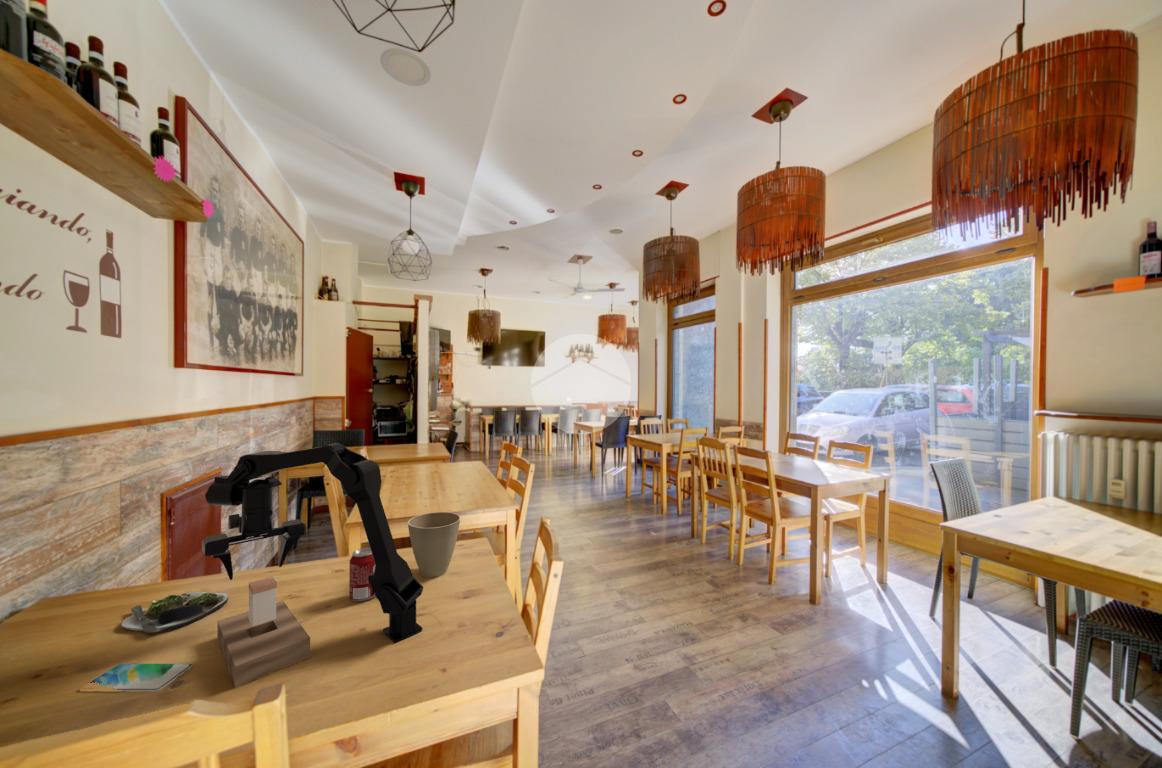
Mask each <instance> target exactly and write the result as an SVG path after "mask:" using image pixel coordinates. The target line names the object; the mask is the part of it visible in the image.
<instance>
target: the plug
mask: <svg viewBox="0 0 1162 768" xmlns="http://www.w3.org/2000/svg"><path fill="white" fill-rule="evenodd" d="M277 586H278V581H277V580H276V579H275V577H274V576H269V577H264V578H261V579H257V580H253V581H250V582H248V611H249V621H250V623H251V625H252V626H256V625H259V624H262V623H265V622H268V621H271V620H274V619H276V603H277V588H278V587H277Z"/></svg>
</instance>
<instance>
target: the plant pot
mask: <svg viewBox="0 0 1162 768" xmlns="http://www.w3.org/2000/svg"><path fill="white" fill-rule="evenodd" d="M460 522H461V516H460V514H458V513H455V512H451V511H450V512H448V511H447V512H446V511H435V512H427V513H423V514H422V513H421V514H419V515H416V516H413V517H412V518H410V519H409V520H408V521H407V526H408V527H407V528H408V532H409V533H408V534H409V539H410V544H411V548H412V549H411V550H412V552H413V556H414V559H415V562H416V565H417V567H418V570H419V573H420V575H421V576H422V577H424V578H436V577H440V576H442V575H445V574H446V573H447V572H448V569H449V565H450V564H451V560H452V558H453V555H454V550H455V548H456V543H457V539H458V535H459V528H460Z"/></svg>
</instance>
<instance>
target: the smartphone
mask: <svg viewBox="0 0 1162 768" xmlns="http://www.w3.org/2000/svg"><path fill="white" fill-rule="evenodd" d="M192 668H193V663H120V664H119V663H118V664H117V665H115V666H113V667H112V668H110V669H108V670H107V671H104V672H103V673H102V674H100V675H98V676H97V677H95V678H96V679H95V678H93V679H92V680H91V681H92V682H93V683H95V682H97V683H99V685H100V684H101V686H102V685H103V686H106V685H107V686H106V687H108V686H110V685H112V684H113V685H112V686H110V687H113V686H114V687H113V688H111V689H113V690H114V689H115V688H116V689H117V690H122V691H140V692H139V693H156V692H157V691H158V692H160V691H162V690H164V689H165V688H166V687H168V686H170V684H172V683H173V682H175V681H176V680H177V679H179V678H180V677H182V676H183V675H184V674H186V673H187V672H188V671H190V670H191V669H192ZM89 682H90V681H89ZM92 682H90V683H92ZM97 683H96V684H97ZM108 684H109V685H108ZM108 688H109V687H108ZM158 692H157V693H158Z"/></svg>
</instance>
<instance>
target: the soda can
mask: <svg viewBox="0 0 1162 768" xmlns="http://www.w3.org/2000/svg"><path fill="white" fill-rule="evenodd" d="M374 571H375V561H374V558H373V555H372V552H371V548H370V547H363V548H362V547H361V548H359V549H357V550H354V551H353V552H352V555H351V557H350V559H349V576H348V577H349V585H348V586H349V590H348V594H349V596H348V597H349V600H351V601H353V602H366V601H369V600H371V599H372V598H374V597H376V596H375V593H374V594H373V595H372V587H371V585H370V583H369V580H368V576H369V575H371V574H372V573H373V572H374Z"/></svg>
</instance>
